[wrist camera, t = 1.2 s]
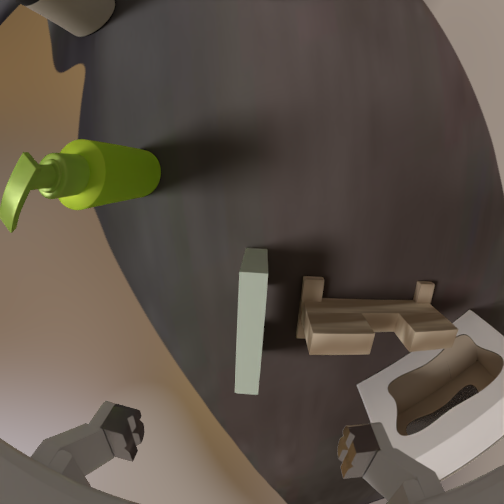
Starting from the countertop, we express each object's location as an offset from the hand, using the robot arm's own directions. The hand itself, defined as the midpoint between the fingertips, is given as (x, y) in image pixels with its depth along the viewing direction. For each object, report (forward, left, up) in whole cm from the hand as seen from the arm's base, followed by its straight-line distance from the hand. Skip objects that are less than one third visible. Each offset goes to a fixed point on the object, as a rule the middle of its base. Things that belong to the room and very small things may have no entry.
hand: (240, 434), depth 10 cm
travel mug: (-35, -26, -26) cm, 51 cm away
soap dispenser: (-9, -15, -26) cm, 31 cm away
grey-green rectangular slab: (+6, 0, -26) cm, 26 cm away
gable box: (+18, +29, -26) cm, 43 cm away
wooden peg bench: (+6, +15, -26) cm, 30 cm away
